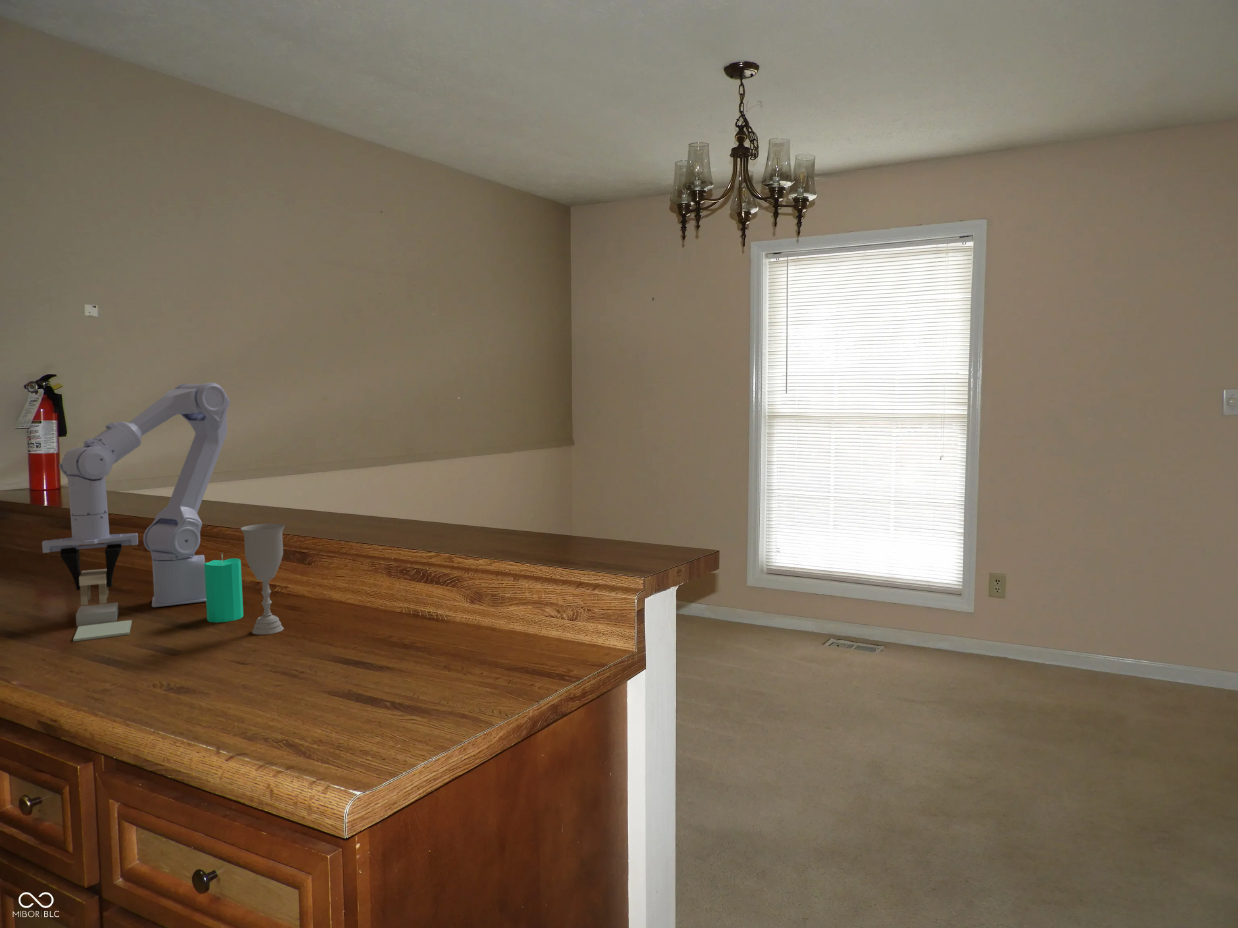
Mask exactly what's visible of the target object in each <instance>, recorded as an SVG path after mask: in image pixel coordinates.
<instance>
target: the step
mask: <svg viewBox="0 0 1238 928" xmlns="http://www.w3.org/2000/svg"><path fill="white" fill-rule="evenodd" d="M118 615H119V603H118V602H111V603H110V602H109V603H103V604H100V603H99V604H92V605H91V604H90V605H83V606H81V605H80V606H79V607H78V610H77V612H76V614H75V619H76V620H75V625H76V627H79V626H86V625H94V624H103V623H111V622H117V620H118Z"/></svg>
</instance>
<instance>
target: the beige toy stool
mask: <svg viewBox="0 0 1238 928" xmlns="http://www.w3.org/2000/svg"><path fill="white" fill-rule="evenodd" d="M80 572H81V574H80V576H79V586H80V590H79V591H80V592H79V593H80V607H81V606H89V600H91V599H92V596H91V594H92V593H91V586H93V585H94V586H95V585H98V594H99V595H98V597H99V598H98V599H99V600H98V601H99V605H100V604H107V602H108V601H107V599H108V598H109V587H107V568H103V569H102V568H101V569H91V570H90V569H88V570H82V571H80Z"/></svg>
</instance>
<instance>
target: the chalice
mask: <svg viewBox="0 0 1238 928" xmlns="http://www.w3.org/2000/svg"><path fill="white" fill-rule="evenodd" d="M285 527H286V524H283V523H259V524H252V525H251V524H250V525H245V526H243V527H240V530H241V532H242V533H243V536H244V537H243V539H244V540H243V541H244V555H245V556H244V557H245V559H246V562H247V564H248V566H249V567H248V568H250V570H251V572H252V574H253V575H254V577H255V579H256V580H257V581H261V582H262V590H261V594H262V596H263V599H262V601H261V602H260V603H261V605H262V607H263V609H264V610H263V614H261V615H262V616H259V617H258V618H257V619H256V621H255V624H254V625H253V627H254V628H253V630H252V631H251V632H252V634H254V635H271V634H276V633H279V632H282V631H283V630H284V627H283V625H282V622H281V621H280V618H279V617H278V616H277V615H275V614H274V615H273V613H272V612H271V604H273V601H272V600H271V599H270V594H271V592H272V590H271V589H270V585H269V584H270V580H272V579H274V578H275V577H276V574H277V572H278V570H279V567H280V565H281V563H282V559H283V555H284V543H283V532H284V529H285Z"/></svg>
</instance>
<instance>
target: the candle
mask: <svg viewBox="0 0 1238 928" xmlns="http://www.w3.org/2000/svg"><path fill="white" fill-rule="evenodd" d="M223 558H224V557H223V552H221V560H220V559H219V560H217V559H213V560H211V561H209V562H205V563H204V571H205V590H206V601H205V605H206V606H205V607H206V608H205V609H206V621H208V622H209V623H226V622H227V623H228V622H233V621H237V620H240V619H242V618H243V617H244V604H243V602H244V601H243V600H244V599H243V581H242V580H243V579H242V563H241V562H242V561H241V559H240V558H235V557H234V558H233V557H232V558H228V559H223Z"/></svg>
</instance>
